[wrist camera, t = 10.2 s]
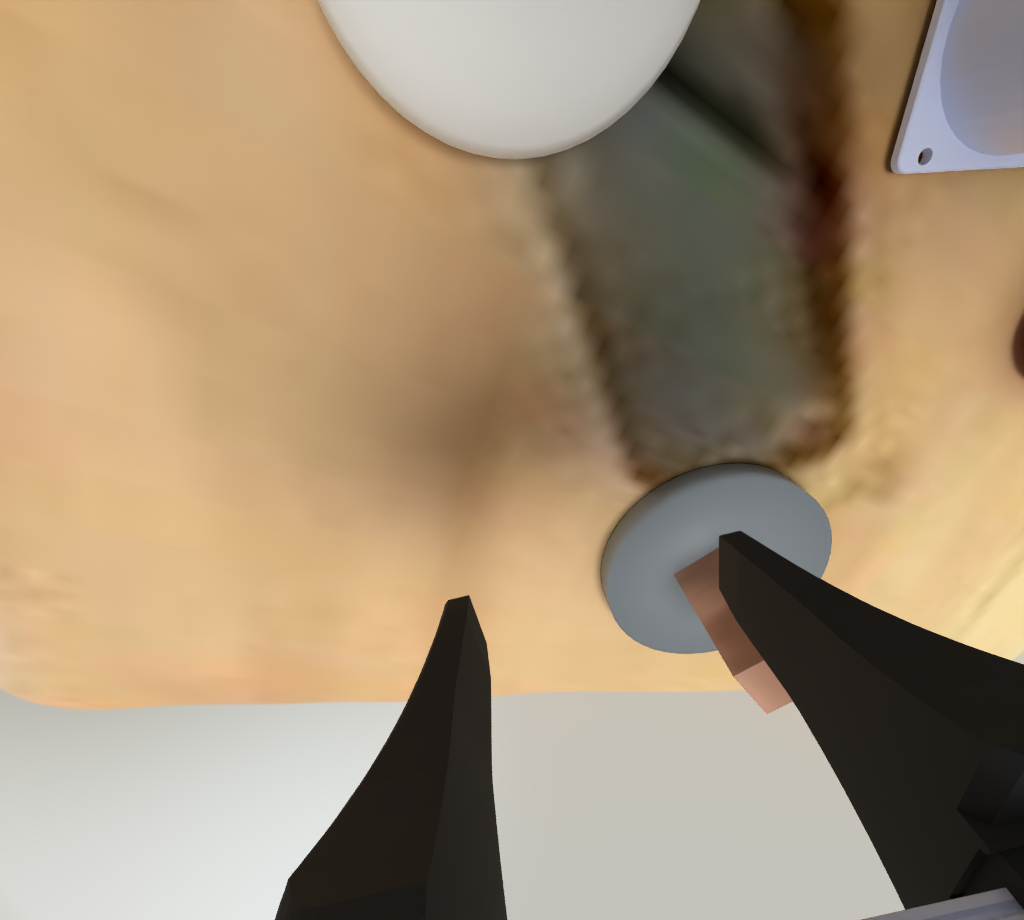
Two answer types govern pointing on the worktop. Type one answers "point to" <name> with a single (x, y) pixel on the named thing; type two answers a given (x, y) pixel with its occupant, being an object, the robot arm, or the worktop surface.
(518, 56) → the flower in vase
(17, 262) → the worktop surface
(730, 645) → the terracotta block
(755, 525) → the slate base plate
